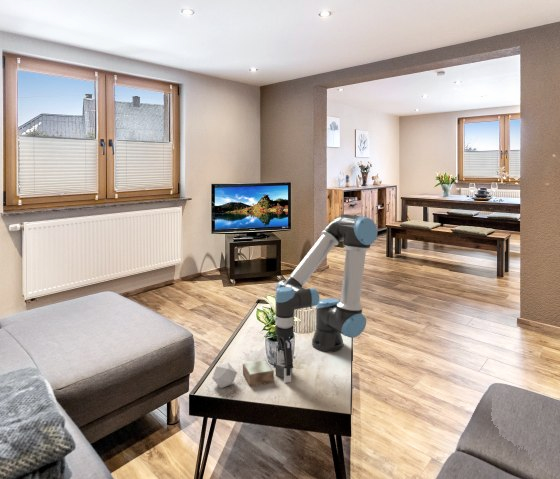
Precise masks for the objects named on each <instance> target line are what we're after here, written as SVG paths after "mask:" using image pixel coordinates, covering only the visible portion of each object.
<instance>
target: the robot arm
mask: <svg viewBox="0 0 560 479" xmlns="http://www.w3.org/2000/svg"><path fill="white" fill-rule="evenodd" d="M377 238H378V227H377V224H376V223H375V221H374V220H373V219H372V218H370V217H368V216H367V217H366V216H361V215H352V214H340V215H339V216H336V217H334V218H333V219H332V220H331V221H330V222H329V223H328V224H327V225H326V226H325V227H324V228H323V229H322V231H321V234H320V237H319V238H318V239H317V240H316V241H315V243H314V244H313V246H311V248H310V249H309V251H307V253H306V255H304V257H303V258H302V260H301V261H300V262H299V263H298V265H297V266H295V268H294V269H293V271H292V272H291V273H290V275H288V277H287V278H286V279H282V280H280V281H279V282H277V284H276V287H275V288H276V289H275V290H276V291H275V298H274V299H275V301H274V302H275V317H274V318H273V321H275V327H274V330H275V331H274V333H275V336H276V342H278V351H279V350H282V352H281V353H277V352H276V364H277V363H278V362H279V361H281V360H284V361H285V366H284V378H283V382H284V384H286V383H292V374H291V368H292V369H294V363H293V362H294V361H293V351H292V349H293V348H292V346H293V345H292V344H293V343H292V342H291V339H290V338H291V337H292V336H293V335H294V333H295V332H294V330H295V328H294V324H295V311H296V310H302V309H305V308H311V307H314V306H316V307H315V309H316V312H315V313H316V314H315V315H316V316H315V331H314V333H313V336H312V340H311V345H312V347H313V348H314V349H316V350H318V351H322V352H326V353H327V352H337V351H341V350H342V349H343V348H342V347H344V340H343V336H344V337H347V338H350V339H351V338H352V339H353V338H357V337H359V336H360V335H361V334H362V333H363V332H364V331H365V330H366V329H365V328H366V326H367V319H366V317H365V315H364V314H363V306H362V305H361V303H360V302H361V296H362V295H361V294H362V286H363V280H364V279H363V278H364V277H363V276H364V270H365V263H366V254H367V251H368V250H369V249H371V245H372V244H374V243H375V241H376V240H377ZM342 241H343V246H344V248H345V249H346V250H345V260H344V268H343V276H342V285H341V293H340V299H339V298H335V297H334V298H332V297H331V298H330V297H329V298H321V299H320V293H319V291H318V289H316V288H305V287H304V285H305V284H306V282H308V280H309V279H310V277H311V276H312V275H313V274H314V273H315V271H316V270H317V269H318V267H319V266H320V265H321V263H322V262H323V261H324V259H326V257H327V255H328V254H329V253H330V252H331V251H332V249H333V248H334V247H335V246H338V245H339V244H340V242H342ZM342 335H343V336H342ZM341 348H342V349H341Z"/></svg>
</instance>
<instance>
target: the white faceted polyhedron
mask: <svg viewBox="0 0 560 479" xmlns="http://www.w3.org/2000/svg"><path fill="white" fill-rule="evenodd" d="M237 374H238V372H237V371H236V369H235V368H234V366H232V365H231V364H230V362H225V363H222V364H220V365H217V366H216V367H215V369H214V372H213V375H212V378H211V379H212V380H213V381H214V382H215V383H216V384H217V386H218V387H219V388H220V389H222V388H225V387H229V386H232V385H233V383H234V381H235V378H236V377H237Z"/></svg>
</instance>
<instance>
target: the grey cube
mask: <svg viewBox="0 0 560 479" xmlns="http://www.w3.org/2000/svg"><path fill="white" fill-rule="evenodd" d="M284 366H285V361H284V359H283V360H281V361H279V362H278V363H277V362H276V364H275V377H279V378H283V379H284ZM292 374H293V368H291V375H292Z"/></svg>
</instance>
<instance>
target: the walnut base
mask: <svg viewBox="0 0 560 479" xmlns="http://www.w3.org/2000/svg"><path fill="white" fill-rule="evenodd" d="M274 375H275V372H274V370H273V368H272V367H271V365H270V364H269V363H268V361H267V360H266V359H265V360H260V361H259V360H258V361H253V362H252V361H251V362H248V363H242V376H243V377H244V379H245V381H246V383H247V385H248V386H249V388H250V387H255V386H261V385H266V384H272V383H274V380H275V379H274V378H275V376H274Z"/></svg>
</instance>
